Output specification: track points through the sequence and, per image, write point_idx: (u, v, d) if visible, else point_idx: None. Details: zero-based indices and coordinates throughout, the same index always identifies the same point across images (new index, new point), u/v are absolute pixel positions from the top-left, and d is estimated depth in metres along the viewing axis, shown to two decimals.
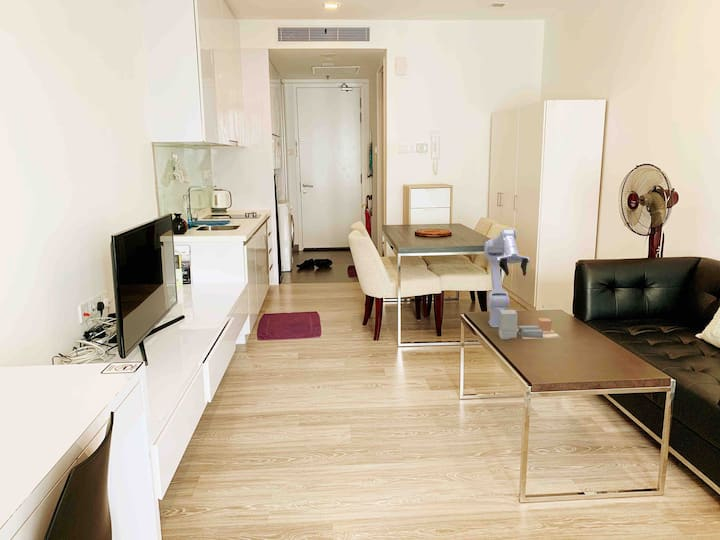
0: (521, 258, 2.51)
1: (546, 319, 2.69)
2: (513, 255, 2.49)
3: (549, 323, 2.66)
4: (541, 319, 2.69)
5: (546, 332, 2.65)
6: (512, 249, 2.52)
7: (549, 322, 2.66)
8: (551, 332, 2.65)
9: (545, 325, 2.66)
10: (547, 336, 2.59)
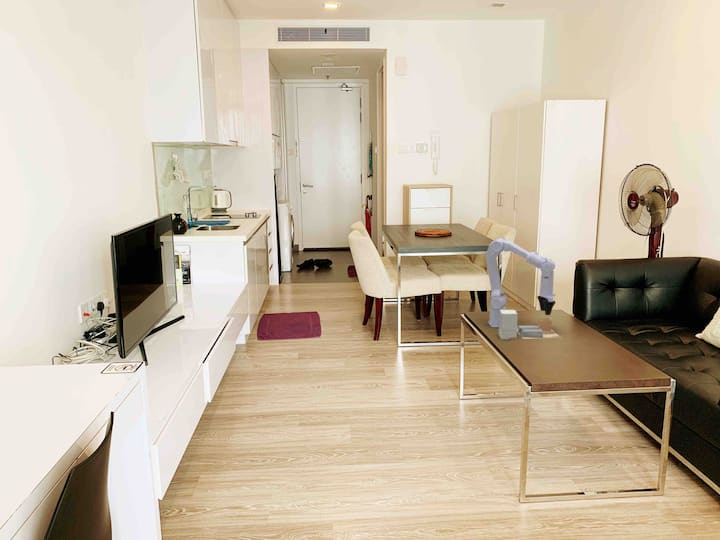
0: None
1: (546, 319, 2.69)
2: None
3: (549, 323, 2.66)
4: (541, 319, 2.69)
5: (546, 332, 2.65)
6: None
7: (549, 322, 2.66)
8: (551, 332, 2.65)
9: (545, 325, 2.66)
10: (547, 336, 2.59)
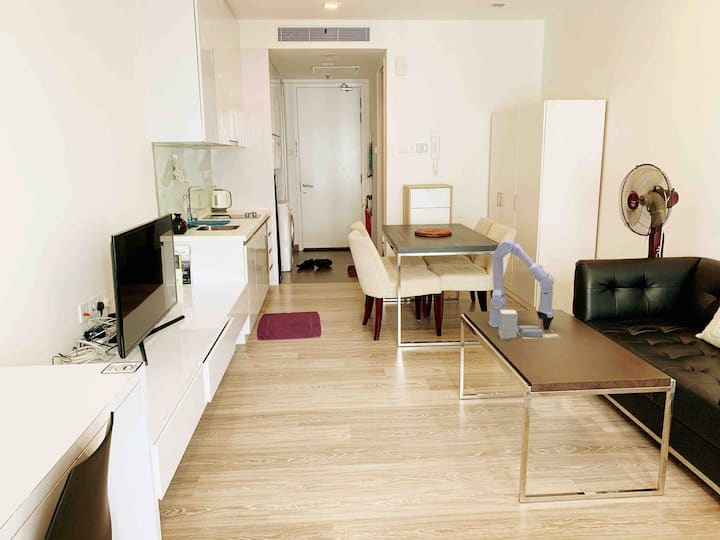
0: None
1: None
2: None
3: None
4: (541, 319, 2.69)
5: (546, 332, 2.65)
6: None
7: None
8: (551, 332, 2.65)
9: None
10: (547, 336, 2.59)
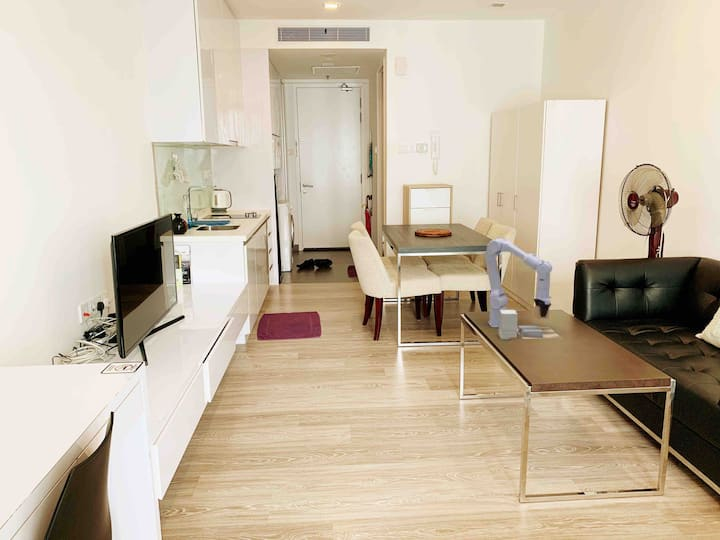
0: None
1: None
2: None
3: None
4: (539, 306, 2.66)
5: (546, 332, 2.65)
6: None
7: None
8: (551, 332, 2.65)
9: None
10: (547, 336, 2.59)
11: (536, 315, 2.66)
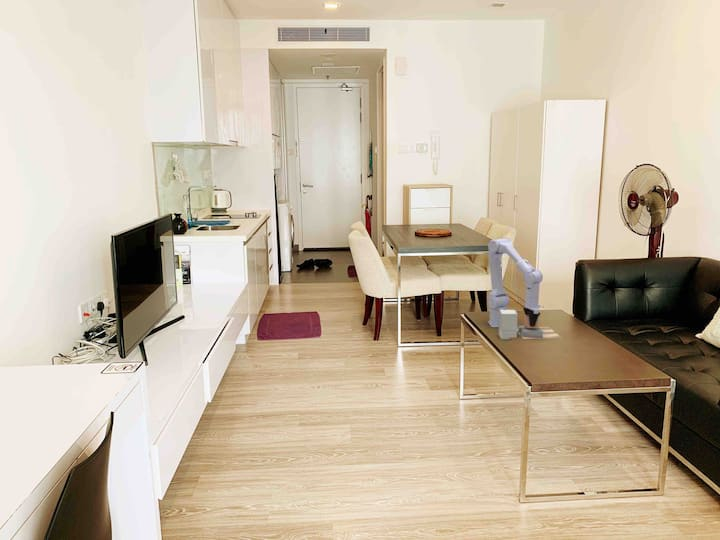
0: None
1: None
2: None
3: None
4: (528, 316, 2.61)
5: (546, 332, 2.65)
6: None
7: None
8: (551, 332, 2.65)
9: None
10: (547, 336, 2.59)
11: (525, 324, 2.61)
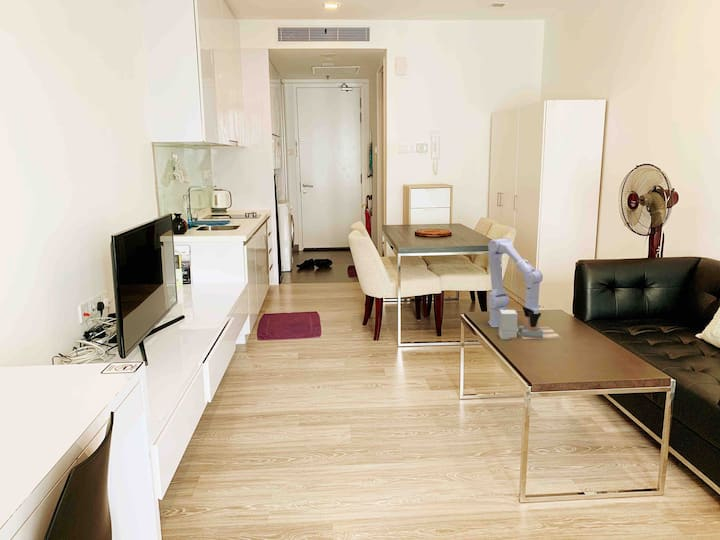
0: None
1: None
2: None
3: None
4: (528, 317, 2.61)
5: (546, 332, 2.65)
6: None
7: None
8: (551, 332, 2.65)
9: None
10: (547, 336, 2.59)
11: (525, 326, 2.61)
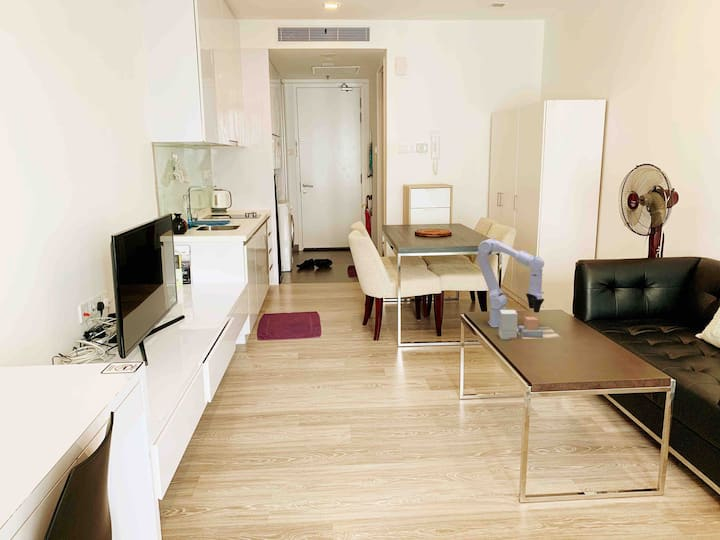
0: None
1: (533, 317, 2.61)
2: None
3: (536, 322, 2.58)
4: (528, 317, 2.61)
5: (546, 332, 2.65)
6: None
7: (536, 321, 2.58)
8: (551, 332, 2.65)
9: (531, 324, 2.58)
10: (547, 336, 2.59)
11: (525, 326, 2.61)
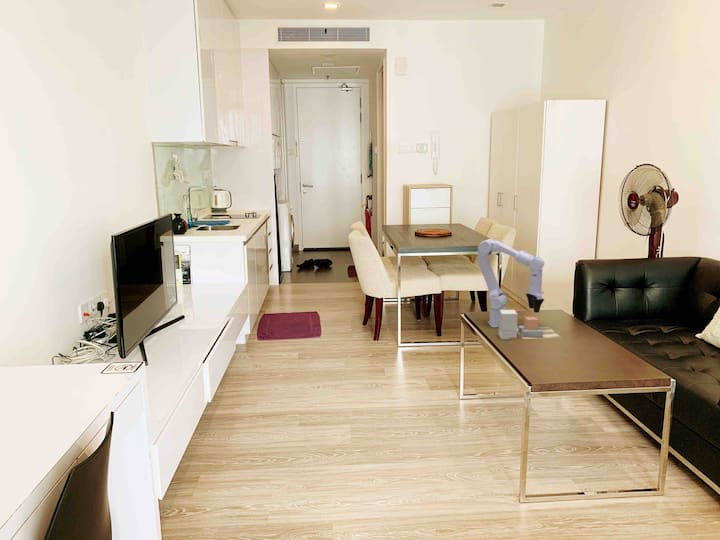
0: None
1: (533, 317, 2.61)
2: None
3: (536, 322, 2.58)
4: (528, 317, 2.61)
5: (546, 332, 2.65)
6: None
7: (536, 321, 2.58)
8: (551, 332, 2.65)
9: (531, 324, 2.58)
10: (547, 336, 2.59)
11: (525, 326, 2.61)
